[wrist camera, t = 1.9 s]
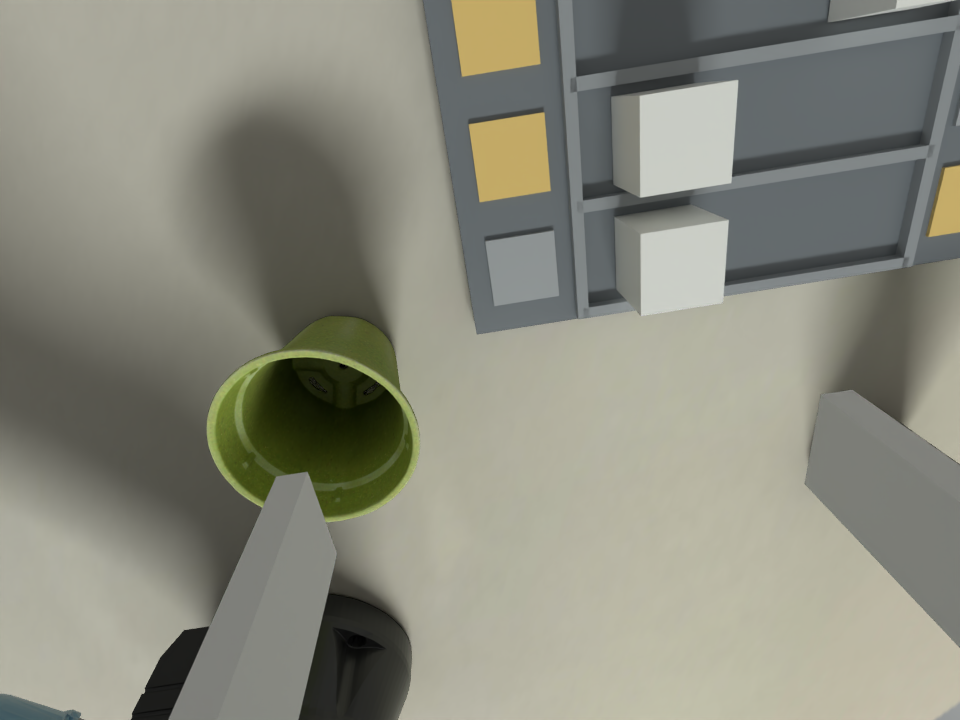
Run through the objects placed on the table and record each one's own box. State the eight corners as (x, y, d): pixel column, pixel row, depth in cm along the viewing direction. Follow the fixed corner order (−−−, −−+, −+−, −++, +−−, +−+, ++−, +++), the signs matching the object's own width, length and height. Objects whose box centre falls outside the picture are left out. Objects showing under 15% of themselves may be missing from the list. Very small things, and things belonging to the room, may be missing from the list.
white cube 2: (613, 184, 26) (640, 197, 23) (610, 96, 25) (639, 95, 21) (691, 172, 26) (731, 183, 23) (695, 83, 25) (738, 79, 21)
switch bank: (475, 324, 31) (477, 338, 29) (414, -51, 23) (412, -65, 21) (979, 244, 31) (1013, 253, 29) (1096, -163, 23) (1155, -187, 21)
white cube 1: (616, 289, 29) (640, 316, 25) (614, 216, 27) (640, 233, 23) (688, 278, 29) (723, 303, 25) (690, 204, 27) (728, 219, 23)
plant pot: (340, 251, 29) (301, 307, 21) (456, 363, 32) (461, 447, 24) (232, 356, 31) (161, 441, 23) (351, 450, 34) (325, 552, 27)
